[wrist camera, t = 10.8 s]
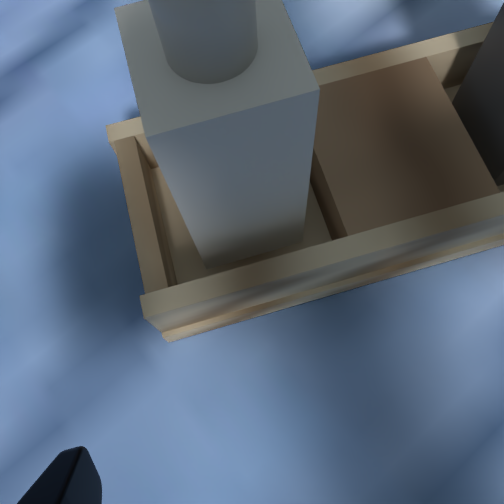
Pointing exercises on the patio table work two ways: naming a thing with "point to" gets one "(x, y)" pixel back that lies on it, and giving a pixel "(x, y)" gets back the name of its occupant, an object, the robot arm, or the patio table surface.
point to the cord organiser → (334, 195)
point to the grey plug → (226, 118)
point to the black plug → (486, 100)
